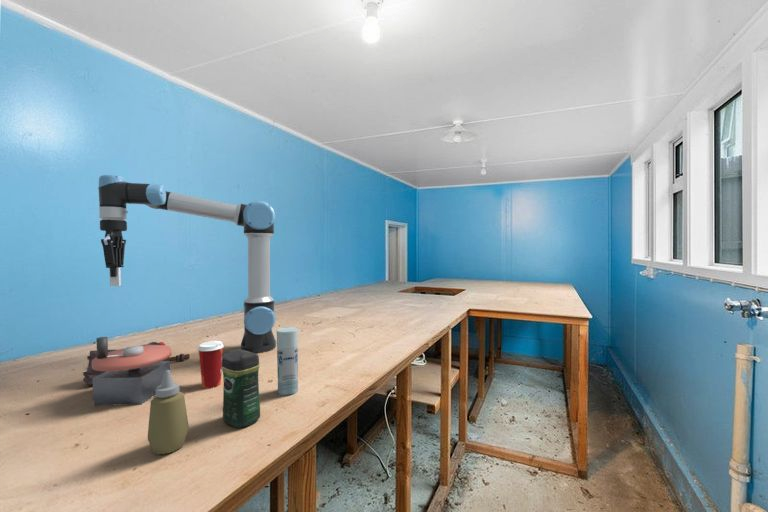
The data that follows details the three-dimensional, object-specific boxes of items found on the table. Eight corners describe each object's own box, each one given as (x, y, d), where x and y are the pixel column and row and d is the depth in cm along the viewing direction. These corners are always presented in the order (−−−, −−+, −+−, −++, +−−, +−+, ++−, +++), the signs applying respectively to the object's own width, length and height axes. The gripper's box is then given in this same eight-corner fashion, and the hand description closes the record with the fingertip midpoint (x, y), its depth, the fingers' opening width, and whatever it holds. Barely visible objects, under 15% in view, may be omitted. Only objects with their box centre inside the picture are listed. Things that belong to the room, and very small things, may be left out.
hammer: (80, 380, 113) (87, 350, 114) (182, 370, 139) (186, 345, 141) (86, 385, 109) (93, 353, 110) (190, 373, 136) (194, 348, 137)
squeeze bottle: (160, 438, 81) (158, 365, 81) (195, 436, 82) (193, 364, 81) (139, 459, 73) (137, 378, 73) (178, 457, 74) (176, 377, 73)
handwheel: (178, 354, 118) (177, 325, 118) (161, 375, 99) (160, 341, 99) (109, 361, 112) (108, 330, 111) (77, 384, 93) (76, 348, 92)
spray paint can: (276, 389, 109) (275, 328, 108) (296, 385, 111) (296, 326, 111) (278, 397, 103) (277, 333, 102) (300, 393, 105) (299, 330, 105)
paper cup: (229, 382, 115) (228, 341, 114) (211, 391, 107) (210, 348, 107) (211, 379, 117) (210, 339, 117) (192, 388, 110) (191, 345, 110)
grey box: (170, 384, 113) (170, 360, 113) (142, 404, 99) (141, 377, 99) (128, 385, 113) (127, 361, 112) (93, 404, 99) (92, 378, 98)
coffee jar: (265, 419, 90) (264, 350, 90) (237, 432, 84) (236, 359, 83) (245, 408, 96) (244, 344, 95) (218, 420, 90) (216, 351, 89)
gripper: (117, 218, 114) (119, 287, 115) (133, 221, 127) (135, 283, 127) (90, 218, 112) (93, 288, 113) (109, 220, 124) (111, 284, 125)
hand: (115, 285), depth 120 cm, fingers closed
